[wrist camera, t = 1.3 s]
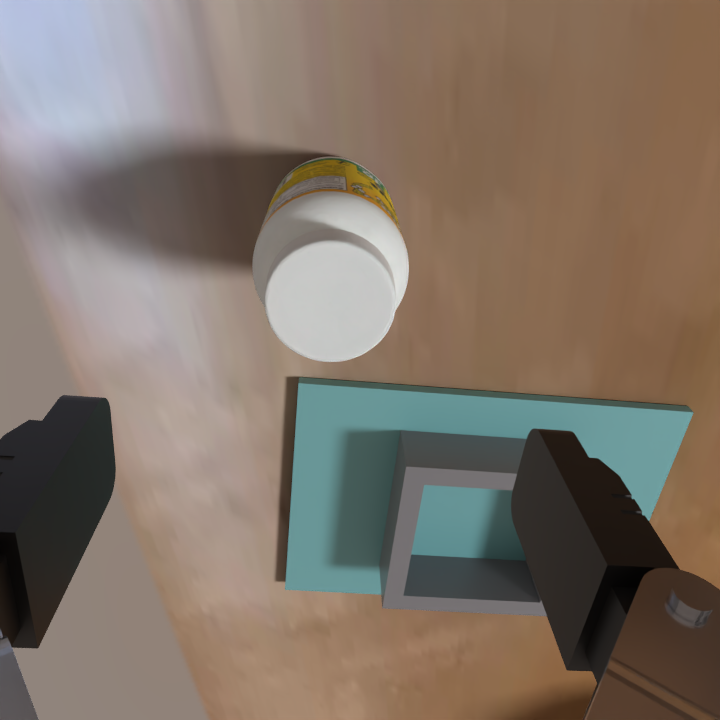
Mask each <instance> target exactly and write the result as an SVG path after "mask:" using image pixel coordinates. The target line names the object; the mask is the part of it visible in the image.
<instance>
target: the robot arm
mask: <svg viewBox="0 0 720 720" xmlns="http://www.w3.org/2000/svg"><path fill="white" fill-rule="evenodd" d="M115 470H116V467H115V455H114V444H113V434H112V423H111V412H110V406H109V402H108V400H107V399H106V398H99V397H84V396H68V395H63V396H61V397H60V398H59V399H58V400H57V402H56V403H55V405H54V406H53V407H52V409H51V410H50V411H49V412H48V414H47V415H46V416H45V418H44V419H43V420H42V421H38V420H37V421H36V420H28V421H27V422H25V423H23V424H22V425H20V426H18V427H17V428H15V429H13V430H12V431H10V432H9V433H7V434H5V435H4V436H3V437H2V438H1V439H0V720H38V717H37V714H36V712H35V709H34V706H33V703H32V701H31V698H30V695H29V693H28V690H27V687H26V685H25V682H24V679H23V676H22V674H21V671H20V669H19V666H18V663H17V660H16V657H15V655H14V652H13V649H12V647H17V648H38V647H39V645H40V643H41V641H42V639H43V637H44V635H45V633H46V631H47V629H48V627H49V625H50V622H51V620H52V618H53V616H54V614H55V612H56V610H57V608H58V606H59V604H60V602H61V600H62V598H63V595H64V593H65V591H66V589H67V587H68V585H69V583H70V581H71V579H72V577H73V575H74V573H75V571H76V569H77V567H78V565H79V562H80V560H81V558H82V556H83V554H84V552H85V550H86V548H87V546H88V544H89V542H90V540H91V538H92V536H93V533H94V531H95V529H96V527H97V525H98V523H99V521H100V519H101V517H102V515H103V513H104V511H105V508H106V506H107V504H108V502H109V500H110V498H111V495H112V492H113V487H114V482H115ZM511 514H512V520H513V524H514V527H515V529H516V532H517V535H518V538H519V540H520V543H521V546H522V549H523V551H524V554H525V557H526V560H527V562H528V565H529V568H530V571H531V573H532V576H533V579H534V582H535V584H536V587H537V590H538V593H539V595H540V598H541V601H542V604H543V606H544V609H545V612H546V615H547V617H548V620H549V623H550V625H551V628H552V631H553V634H554V636H555V639H556V642H557V645H558V647H559V650H560V653H561V656H562V658H563V661H564V664H565V667H566V669H567V670H572V671H592V672H593V674H594V676H595V679H596V681H597V685H596V688H595V690H594V692H593V695H592V697H591V700H590V702H589V704H588V707H587V709H586V712H585V714H584V717H583V719H582V720H720V590H719V589H718V588H716V587H715V586H714V585H712V584H711V583H709V582H708V581H706V580H704V579H702V578H700V577H699V576H696V575H694V574H692V573H689V572H686V571H683V570H680V569H679V568H678V566H677V565H676V563H675V561H674V560H673V558H672V557H671V555H670V554H669V552H668V551H667V549H666V547H665V546H664V544H663V543H662V541H661V540H660V538H659V537H658V535H657V533H656V532H655V530H654V529H653V527H652V526H651V524H650V523H649V521H648V519H647V518H646V516H645V515H642V510H641V509H640V507H639V505H638V504H637V502H636V501H635V499H632V495H631V493H630V491H629V490H628V488H627V487H626V485H625V484H624V482H623V481H622V479H621V477H620V476H619V475H618V474H617V473H615V472H614V471H613V470H612V469H611V468H609V467H608V466H607V465H606V464H605V463H603V462H602V461H601V460H600V459H598V458H589V457H588V455H587V453H586V452H585V450H584V448H583V447H582V445H581V443H580V442H579V440H578V438H577V437H576V435H575V434H574V433H573V432H572V431H564V430H550V429H532V430H531V431H530V432H529V434H528V436H527V439H526V443H525V447H524V450H523V454H522V458H521V461H520V465H519V469H518V472H517V476H516V480H515V483H514V487H513V491H512V497H511Z"/></svg>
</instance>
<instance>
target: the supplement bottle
mask: <svg viewBox="0 0 720 720" xmlns="http://www.w3.org/2000/svg"><path fill="white" fill-rule="evenodd" d="M252 271H253V279H254V284H255V288H256V290H257V293H258V296H259V298H260V300H261V302H262V304H263V305H264V307H265V311H266V315H267V318H268V321H269V324H270V326H271V328H272V330H273V331H274V333H275V334H276V336H277V337H278V338H279V339H280V340H281V341H282V342H283V343H284V344H285V345H286V346H287V347H288V348H290V349H291V350H292V351H294V352H296V353H298V354H299V355H301V356H304V357H306V358H309V359H313V360H317V361H325V362H339V361H345V360H349V359H353V358H355V357H358V356H360V355H363V354H364V353H366V352H367V351H369V350H370V349H372V348H373V347H374V346H376V345H377V344H378V343H379V342H380V341H381V340H382V339H383V337H384V336H385V335H386V333H387V332H388V330H389V328H390V326H391V324H392V321H393V319H394V314H395V311H396V309H397V307H398V306H399V304H400V302H401V300H402V298H403V296H404V293H405V290H406V287H407V282H408V274H409V263H408V252H407V248H406V245H405V242H404V239H403V236H402V233H401V230H400V227H399V223H398V219H397V217H396V213H395V210H394V207H393V204H392V201H391V198H390V196H389V194H388V192H387V190H386V188H385V187H384V185H383V184H382V182H381V181H380V180H379V179H378V178H377V177H376V176H375V175H374V174H373V173H371V172H370V171H369V170H368V169H366V168H365V167H363V166H362V165H360V164H358V163H357V162H355V161H352V160H349V159H347V158H342V157H330V156H329V157H320V158H316V159H312V160H309V161H307V162H305V163H303V164H301V165H299V166H298V167H296V168H294V169H293V170H292V171H291V172H289V173H288V174H287V175H286V176H285V178H284V179H283V180H282V181H281V183H280V184H279V186H278V187H277V189H276V191H275V193H274V196H273V198H272V200H271V202H270V205H269V208H268V211H267V214H266V216H265V219H264V222H263V224H262V227H261V230H260V232H259V235H258V238H257V241H256V245H255V249H254V253H253V262H252Z"/></svg>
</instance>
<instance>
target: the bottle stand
mask: <svg viewBox="0 0 720 720" xmlns="http://www.w3.org/2000/svg"><path fill="white" fill-rule="evenodd" d="M692 415H693V411H692V410H691V409H690V408H689V407H688V406H680V405H667V404H653V403H640V402H626V401H613V400H600V399H586V398H573V397H559V396H546V395H532V394H519V393H506V392H492V391H479V390H465V389H452V388H439V387H425V386H412V385H398V384H385V383H371V382H358V381H345V380H331V379H318V378H304V377H299V383H298V398H297V414H296V429H295V444H294V460H293V475H292V491H291V506H290V521H289V537H288V552H287V568H286V583H285V590H302V591H322V592H342V593H362V594H381V597H382V608H388V609H409V610H430V611H450V612H471V613H492V614H512V615H533V616H547V615H546V612H545V609H544V606H543V604H542V601H541V598H540V595H539V593H538V590H537V587H536V584H535V582H534V579H533V576H532V573H531V571H530V568H529V565H528V562H527V560H526V557H525V554H524V551H523V549H522V546H521V543H520V540H519V538H518V535H517V532H516V529H515V527H514V524H513V520H512V514H511V497H512V491H513V487H514V483H515V480H516V476H517V472H518V469H519V465H520V461H521V458H522V454H523V450H524V447H525V443H526V439H527V436H528V434H529V432H530V431H531V430H532V429H550V430H564V431H572V432H573V433H574V434H575V435H576V437H577V438H578V440H579V442H580V443H581V445H582V447H583V448H584V450H585V452H586V453H587V455H588V457H589V458H598V459H600V460H601V461H602V462H603V463H605V464H606V465H607V466H608V467H609V468H611V469H612V470H613V471H614V472H615V473H617V474H618V475H619V476H620V477H621V479H622V481H623V482H624V484H625V485H626V487H627V488H628V490H629V491H630V493H631V495H632V499H635V501H636V502H637V504H638V505H639V507H640V509H641V510H642V515H645V516H646V518H647V519H648V521H649V520H650V517H651V515H652V512H653V510H654V508H655V505H656V503H657V500H658V498H659V495H660V493H661V490H662V488H663V486H664V483H665V481H666V478H667V476H668V473H669V471H670V469H671V466H672V464H673V461H674V459H675V456H676V454H677V451H678V449H679V447H680V444H681V442H682V439H683V437H684V434H685V432H686V430H687V427H688V425H689V422H690V420H691V417H692Z"/></svg>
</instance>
